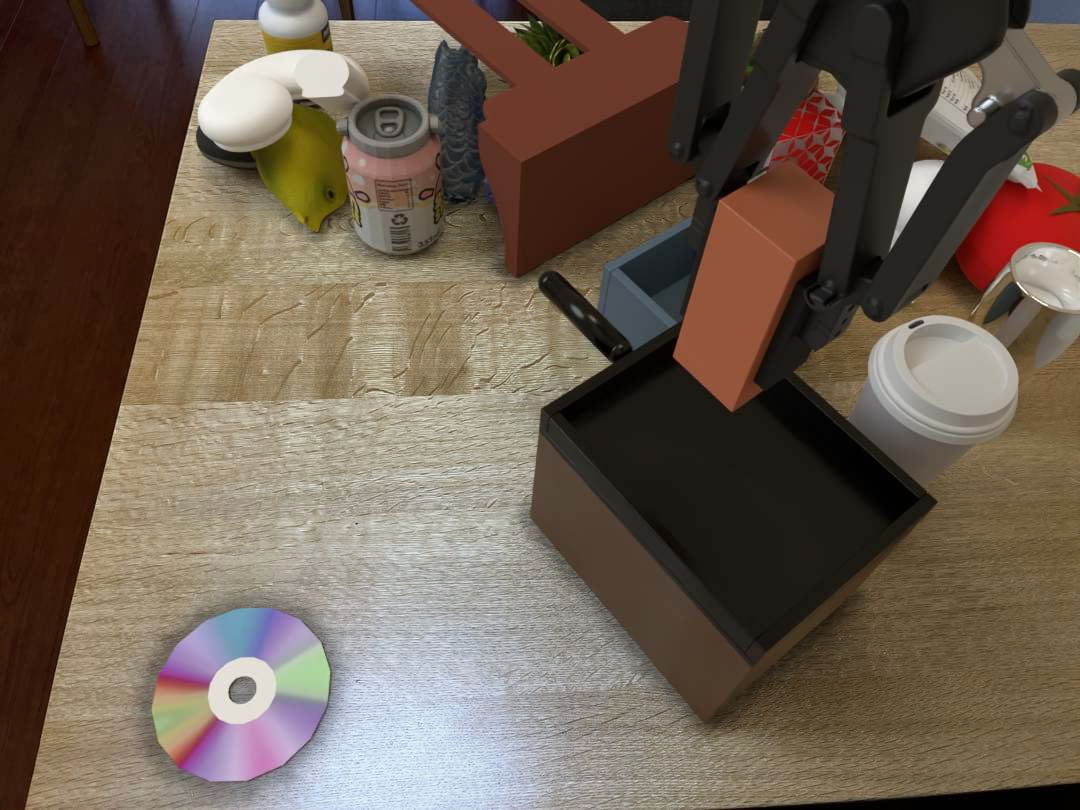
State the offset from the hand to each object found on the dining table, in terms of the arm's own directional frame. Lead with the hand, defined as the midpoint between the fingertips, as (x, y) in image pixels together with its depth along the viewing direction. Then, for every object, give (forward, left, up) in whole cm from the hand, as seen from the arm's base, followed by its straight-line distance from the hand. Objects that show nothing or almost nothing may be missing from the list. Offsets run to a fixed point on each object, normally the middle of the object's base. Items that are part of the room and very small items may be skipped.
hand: (741, 337), depth 40 cm
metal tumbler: (-4, -31, -27) cm, 42 cm away
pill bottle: (+61, -7, -27) cm, 67 cm away
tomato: (+2, -45, -27) cm, 53 cm away
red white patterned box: (+24, -38, -27) cm, 52 cm away
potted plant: (+40, -25, -27) cm, 54 cm away
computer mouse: (+56, +1, -23) cm, 60 cm away
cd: (+10, +27, -27) cm, 39 cm away
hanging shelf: (+28, -21, -20) cm, 40 cm away
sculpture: (+49, -1, -20) cm, 53 cm away
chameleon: (+23, -48, -17) cm, 56 cm away
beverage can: (+39, -5, -27) cm, 48 cm away
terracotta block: (0, 0, -2) cm, 2 cm away
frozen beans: (+28, -37, -9) cm, 48 cm away
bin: (+13, -18, -27) cm, 35 cm away
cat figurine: (+11, -35, -27) cm, 46 cm away
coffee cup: (-5, -19, -27) cm, 34 cm away
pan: (+4, -3, -27) cm, 28 cm away
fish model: (+46, -16, -27) cm, 56 cm away
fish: (+50, +4, -23) cm, 55 cm away
